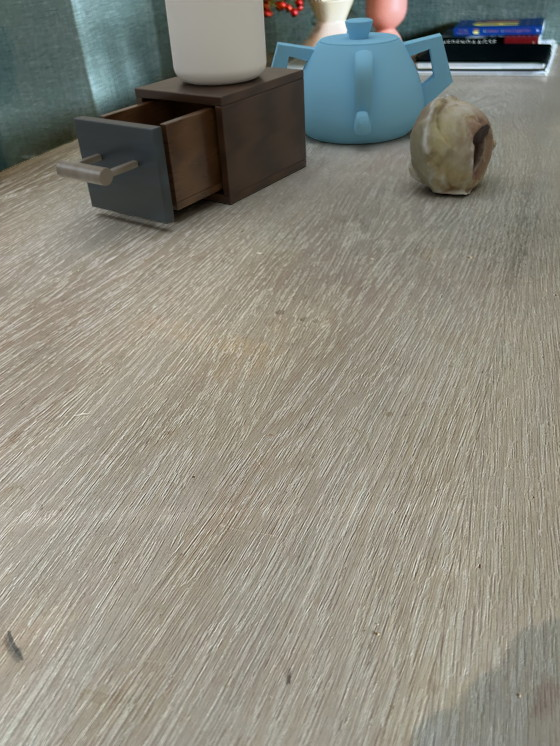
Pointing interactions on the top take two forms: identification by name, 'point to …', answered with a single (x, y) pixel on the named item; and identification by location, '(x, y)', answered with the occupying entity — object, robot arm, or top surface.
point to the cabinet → (248, 126)
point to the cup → (217, 40)
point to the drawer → (148, 158)
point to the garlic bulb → (450, 146)
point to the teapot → (365, 83)
